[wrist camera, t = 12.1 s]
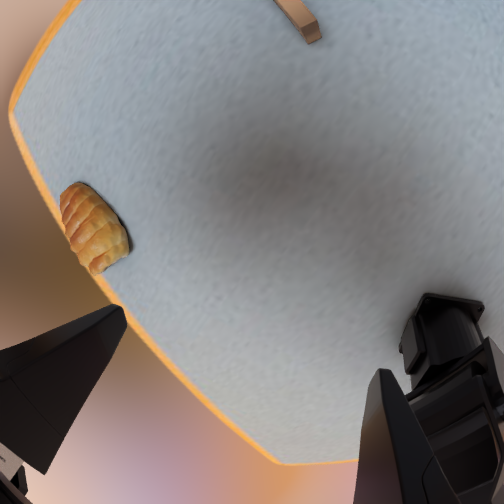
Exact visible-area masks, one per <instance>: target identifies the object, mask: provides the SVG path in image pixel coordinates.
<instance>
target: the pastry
mask: <svg viewBox="0 0 504 504" xmlns="http://www.w3.org/2000/svg"><path fill="white" fill-rule="evenodd" d="M60 210H61V214H62V222H63V224H64V225H65V228H66V232H65V234H66V236H67V237H68V238H69V239H70V243H71V250H72V251H73V252H76V253H77V254H78V258H79V263H80V264H81V265H83V266H87V267H89V270H90V273H91V275H92V276H96V275H97V274H100V273H102V272H104V271H105V270H106V269H107V268H108V267H109V266H110V265H111V264H114V263H116V262H117V260H119V259H120V258H125V257H126V256H128V255H129V245H128V237H127V233H126V230H125V228H124V227H122V225H121V224H120V223H119V221H118V217H117V216H116V214H115V213H114V212H113V210H112V209H111V208H109V207H108V205H107V204H106V203H105V202H104V201H103V200H102V199H101V198H100V197H99V195H98V194H97V193H96V192H95V191H94V190H92V189H91V188H90V187H88V186H86V185H84V184H83V183H74V184H72V185H70V186H69V187H68V188H67V189H66V190H65V191H64V192H62V193H61V195H60Z"/></svg>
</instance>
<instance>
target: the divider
mask: <svg viewBox="0 0 504 504" xmlns="http://www.w3.org/2000/svg"><path fill="white" fill-rule="evenodd" d="M274 2H275V3H276V4H277V5H278V6H279V7H280V9H281V10H282V11H283V12H284V13H285V15H286V16H287V17H288V18H289V20H290V21H291V22H292V23H293V25H294V26H295V27H296V28H297V30H298V31H299V32H300V34H301V35H302V36H303V38H304V39H305V40H306V42H307V43H308V44H310V43H312V42H314V41H316V40H318V39H320V38H322V36H321V33H320V29H319V26H318V22H317V19H316V18H315V17H314V16H313V14H312V13H311V12H310V11H309V10H308V8H307V7H306V6H305V5H304V4H303V2H302V1H301V0H274Z"/></svg>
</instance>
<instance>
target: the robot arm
mask: <svg viewBox="0 0 504 504" xmlns="http://www.w3.org/2000/svg"><path fill="white" fill-rule="evenodd" d="M427 299H429V300H428V301H426V300H427ZM478 308H479V309H478ZM484 309H485V307H484V305H483V303H482V302H477V301H471V300H465V299H459V298H453V297H447V296H441V295H435V294H424V295H423V296H422V298H421V300H420V303H419V305H418V307H417V309H416V312H415V314H414V315H413V316H412V317H411V318H410V320H409V322H408V325H407V327H406V329H405V331H404V333H403V335H402V337H401V343H400V345H399V352H400V353H402V354H403V357H404V367H405V372H406V374H407V375H410V376H411V386H412V391H411V392H410V393H408V394H406V395H404V393H403V391H402V389H401V388H400V386H399V384H398V382H397V380H396V378H395V377H394V375H393V373H392V371H391V370H389V369H383V368H379V369H378V370H377V371H376V373H375V375H374V376H373V378H372V380H371V382H370V384H369V387H368V392H367V399H366V406H365V412H364V417H363V423H362V429H361V439H360V451H359V461H358V471H357V479H356V488H355V494H354V502H353V504H504V354H503V353H502V352H501V350H500V349H499V348H498V347H497V345H496V344H495V343H494V342H493V341H492V339H491V338H490V337H489V336H488V337H487V338H486V339H484V337H483V335H482V332H481V330H480V327H479V325H478V323H477V322H478V320H479V319H480V317H481V315H482V313H483V311H484ZM126 328H127V320H126V317H125V314H124V310H123V308H122V307H121V306H118V305H116V304H111V305H108V306H106V307H104V308H101V309H99V310H97V311H94V312H92V313H90V314H87V315H85V316H83V317H80V318H78V319H76V320H73V321H71V322H69V323H66V324H64V325H62V326H59V327H57V328H55V329H52V330H50V331H48V332H46V333H43V334H41V335H38V336H37V337H36V338H35V337H34V338H32V339H29V340H27V341H24V342H22V343H20V344H17V345H15V346H11V347H9V348H6V349H3V350H0V504H32V503H31V502H30V501H29V500H28V499H27V498H26V497H25V495H26V493H27V492H28V488H27V483H26V476H25V469H24V466H23V465H22V463H23V462H24V461H25V462H26V463H27V464H29V465H30V466H31V467H33V468H34V469H36V470H37V471H39V472H40V473H42V474H43V475H45V474H46V472H47V471H48V469H49V466H50V465H51V463H52V461H53V459H54V457H55V455H56V453H57V451H58V449H59V448H60V446H61V444H62V442H63V440H64V438H65V436H66V434H67V433H68V431H69V429H70V427H71V426H72V424H73V422H74V420H75V418H76V417H77V415H78V413H79V412H80V410H81V408H82V406H83V404H84V403H85V401H86V399H87V398H88V396H89V394H90V393H91V391H92V389H93V388H94V386H95V384H96V383H97V381H98V380H99V378H100V376H101V375H102V373H103V371H104V370H105V368H106V366H107V365H108V363H109V362H110V360H111V358H112V356H113V354H114V352H115V350H116V348H117V346H118V344H119V342H120V340H121V338H122V336H123V334H124V332H125V330H126Z"/></svg>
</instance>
